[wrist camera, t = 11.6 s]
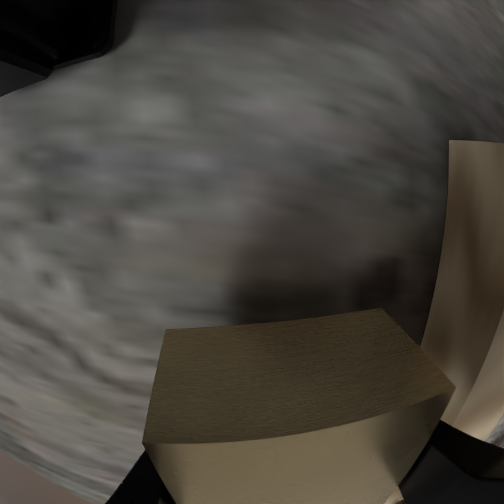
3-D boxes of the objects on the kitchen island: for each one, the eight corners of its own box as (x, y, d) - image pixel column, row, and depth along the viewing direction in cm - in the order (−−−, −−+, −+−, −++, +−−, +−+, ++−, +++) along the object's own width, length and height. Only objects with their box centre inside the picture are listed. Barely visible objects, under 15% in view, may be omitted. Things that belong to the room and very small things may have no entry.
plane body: (448, 139, 9) (527, 145, 5) (516, 156, 10) (577, 168, 6) (366, 477, 16) (383, 517, 12) (425, 455, 17) (446, 488, 13)
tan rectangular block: (166, 329, 8) (142, 442, 4) (381, 308, 9) (456, 387, 5) (200, 461, 10) (202, 540, 7) (348, 441, 11) (378, 510, 7)
